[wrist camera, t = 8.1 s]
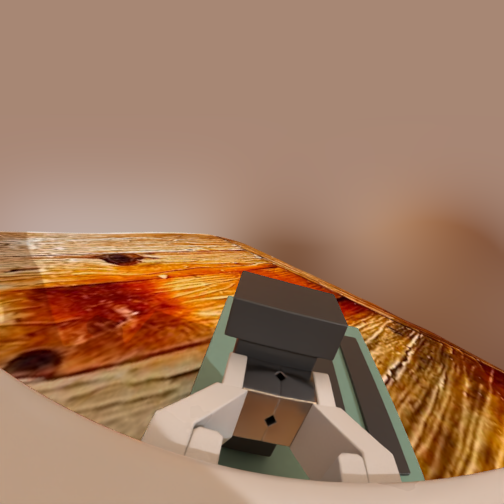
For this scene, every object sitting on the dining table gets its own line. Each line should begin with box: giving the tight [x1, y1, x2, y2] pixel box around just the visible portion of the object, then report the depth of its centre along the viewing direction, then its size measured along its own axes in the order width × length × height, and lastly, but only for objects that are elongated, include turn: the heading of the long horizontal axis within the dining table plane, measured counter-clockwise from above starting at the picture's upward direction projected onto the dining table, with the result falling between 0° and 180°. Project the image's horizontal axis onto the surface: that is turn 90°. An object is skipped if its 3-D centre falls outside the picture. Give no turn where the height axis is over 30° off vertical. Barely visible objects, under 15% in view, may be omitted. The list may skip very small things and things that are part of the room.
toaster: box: [190, 296, 425, 482], centre depth 17 cm, size 11×18×9 cm, turn 175°
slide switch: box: [221, 271, 348, 457], centre depth 10 cm, size 3×2×6 cm
